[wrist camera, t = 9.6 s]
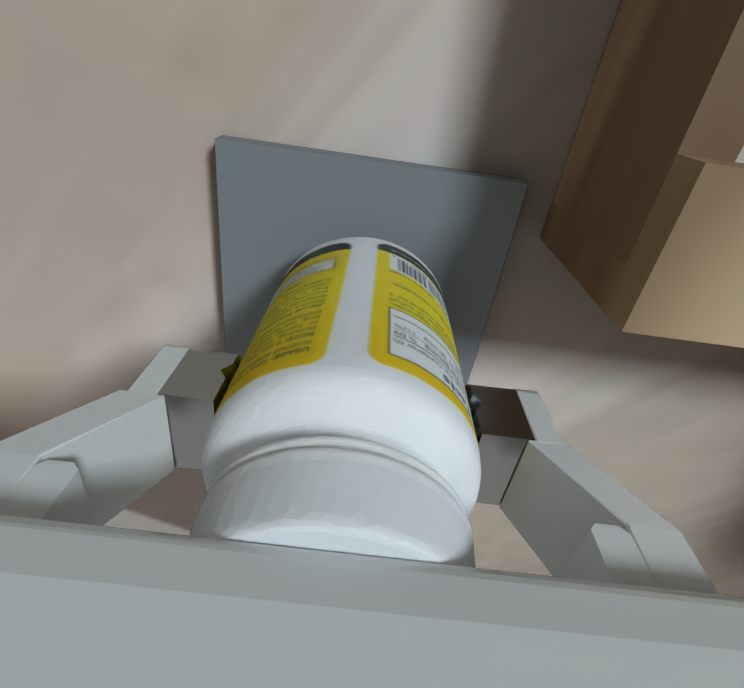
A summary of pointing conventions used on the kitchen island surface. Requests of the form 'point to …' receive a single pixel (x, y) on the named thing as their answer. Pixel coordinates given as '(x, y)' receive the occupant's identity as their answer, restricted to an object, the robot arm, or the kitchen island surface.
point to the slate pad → (358, 226)
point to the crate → (661, 174)
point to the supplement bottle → (347, 416)
